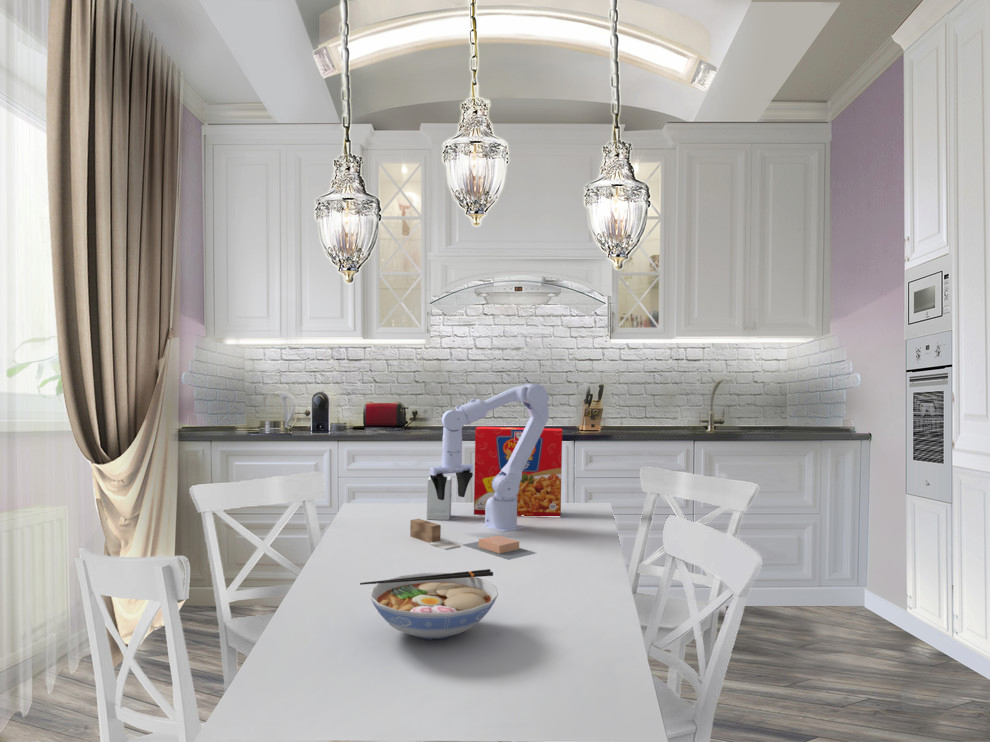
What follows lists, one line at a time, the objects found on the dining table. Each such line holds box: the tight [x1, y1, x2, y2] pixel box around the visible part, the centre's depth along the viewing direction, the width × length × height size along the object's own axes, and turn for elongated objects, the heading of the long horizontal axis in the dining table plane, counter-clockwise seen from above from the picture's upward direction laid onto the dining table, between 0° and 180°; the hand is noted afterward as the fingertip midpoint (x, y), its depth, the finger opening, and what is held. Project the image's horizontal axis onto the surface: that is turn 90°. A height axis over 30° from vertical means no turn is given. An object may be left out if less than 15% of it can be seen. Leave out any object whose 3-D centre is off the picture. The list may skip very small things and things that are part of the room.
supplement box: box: [426, 475, 453, 521], centre depth 217 cm, size 7×7×13 cm
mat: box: [462, 540, 537, 561], centre depth 179 cm, size 18×10×1 cm, turn 42°
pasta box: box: [473, 426, 563, 517], centre depth 225 cm, size 28×8×28 cm, turn 85°
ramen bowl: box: [359, 568, 499, 641], centre depth 122 cm, size 25×23×8 cm
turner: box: [409, 518, 461, 551], centre depth 185 cm, size 17×5×5 cm, turn 42°
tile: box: [478, 535, 520, 554], centre depth 178 cm, size 2×7×8 cm
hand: (451, 498), depth 200 cm, fingers open, 7 cm apart
